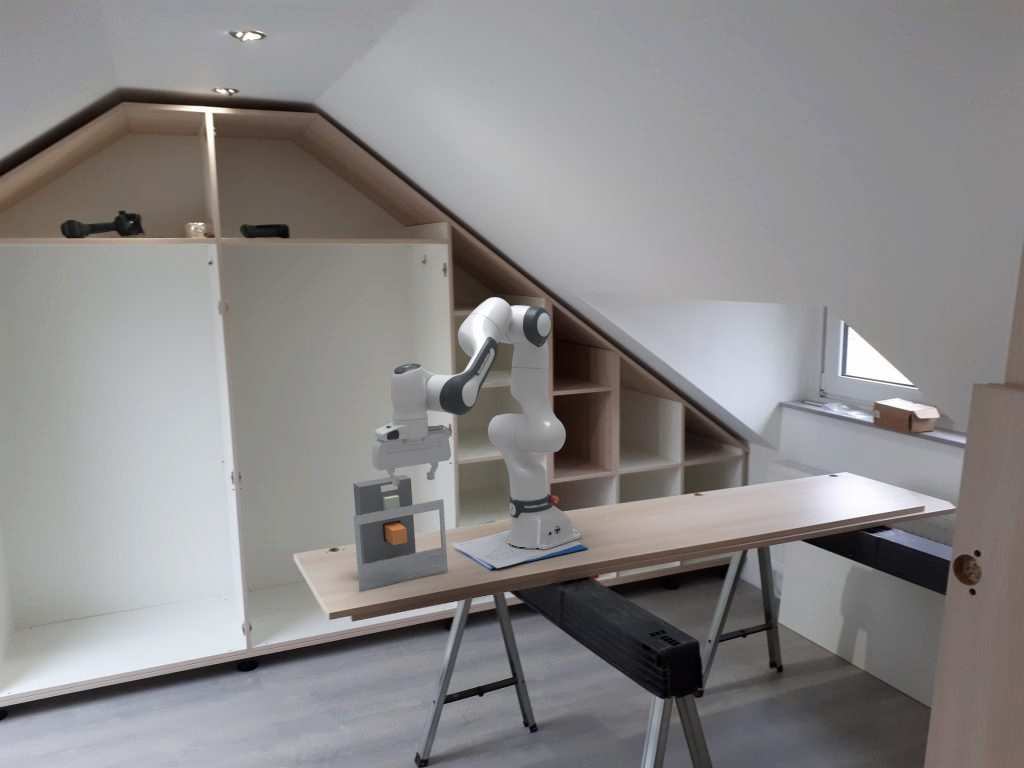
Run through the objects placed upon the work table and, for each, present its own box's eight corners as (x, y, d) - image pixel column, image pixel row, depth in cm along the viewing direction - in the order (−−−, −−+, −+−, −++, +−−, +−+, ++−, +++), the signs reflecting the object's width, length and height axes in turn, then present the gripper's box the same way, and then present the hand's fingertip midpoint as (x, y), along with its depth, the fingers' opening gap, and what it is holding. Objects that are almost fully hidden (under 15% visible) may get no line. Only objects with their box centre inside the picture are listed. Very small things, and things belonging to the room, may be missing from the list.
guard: (447, 570, 235) (443, 499, 232) (359, 591, 223) (354, 516, 220) (436, 563, 241) (432, 493, 239) (351, 582, 230) (345, 509, 227)
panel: (419, 569, 237) (413, 479, 233) (368, 581, 230) (361, 488, 226) (410, 562, 243) (404, 474, 239) (360, 573, 236) (353, 483, 232)
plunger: (407, 542, 230) (406, 528, 229) (393, 545, 228) (392, 531, 227) (398, 535, 236) (397, 521, 235) (384, 538, 234) (383, 524, 234)
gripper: (443, 422, 220) (446, 473, 222) (368, 431, 211) (371, 485, 213) (453, 425, 215) (456, 478, 217) (376, 435, 205) (379, 490, 207)
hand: (413, 482), depth 215 cm, fingers open, 8 cm apart
